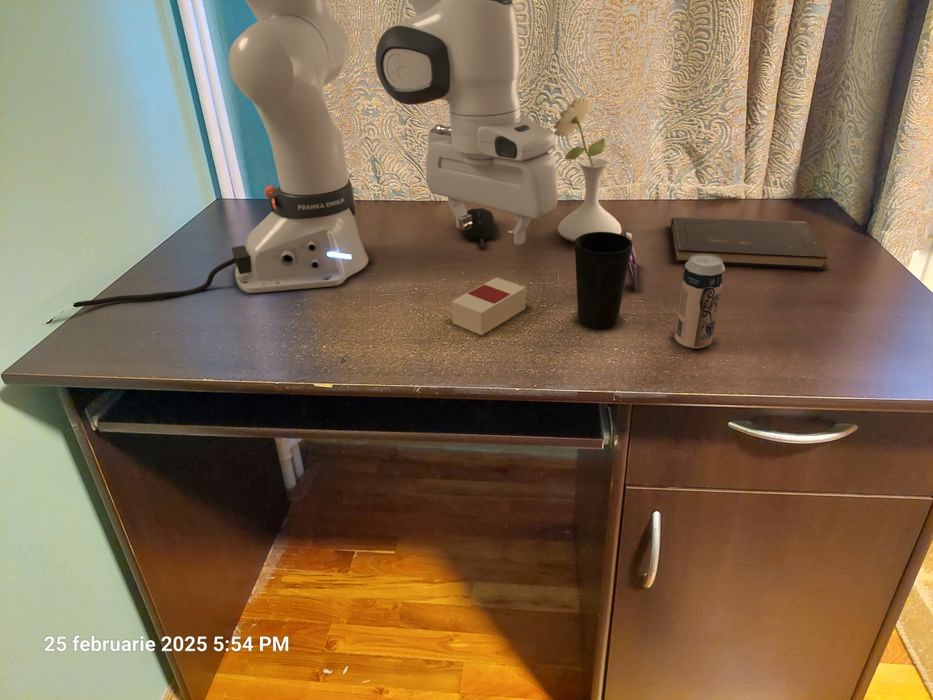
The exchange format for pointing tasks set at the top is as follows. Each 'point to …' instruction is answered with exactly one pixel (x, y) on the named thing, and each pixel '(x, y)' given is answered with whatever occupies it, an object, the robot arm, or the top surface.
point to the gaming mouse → (480, 226)
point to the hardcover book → (748, 242)
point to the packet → (488, 305)
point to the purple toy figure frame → (632, 272)
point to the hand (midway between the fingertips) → (489, 235)
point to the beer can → (699, 300)
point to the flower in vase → (590, 211)
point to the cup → (601, 277)
